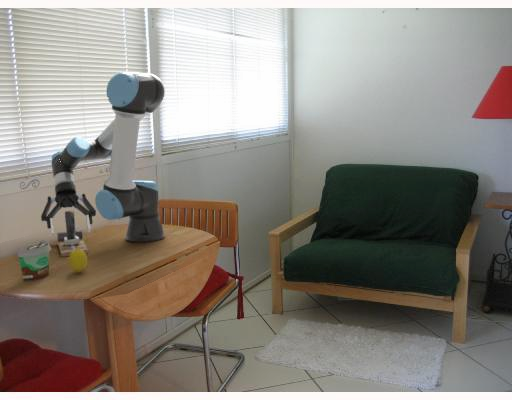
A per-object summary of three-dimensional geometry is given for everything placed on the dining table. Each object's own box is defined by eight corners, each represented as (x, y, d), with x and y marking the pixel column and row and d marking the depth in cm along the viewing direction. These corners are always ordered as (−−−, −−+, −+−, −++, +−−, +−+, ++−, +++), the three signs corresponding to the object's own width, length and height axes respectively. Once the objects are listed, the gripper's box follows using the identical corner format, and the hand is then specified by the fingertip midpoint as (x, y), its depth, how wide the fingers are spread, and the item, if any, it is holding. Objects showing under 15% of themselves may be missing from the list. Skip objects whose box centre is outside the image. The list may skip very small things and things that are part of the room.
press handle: (79, 243, 201) (77, 212, 199) (65, 245, 199) (62, 213, 197) (78, 240, 206) (75, 210, 204) (64, 242, 204) (61, 211, 202)
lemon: (70, 276, 170) (68, 251, 168) (69, 271, 175) (67, 247, 173) (89, 273, 172) (87, 249, 170) (87, 269, 177) (85, 245, 175)
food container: (38, 283, 164) (35, 251, 162) (20, 282, 165) (17, 250, 163) (60, 270, 176) (58, 240, 174) (43, 269, 177) (40, 240, 175)
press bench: (88, 253, 195) (87, 241, 194) (61, 256, 192) (60, 244, 191) (82, 241, 213) (81, 230, 212) (58, 244, 210) (57, 232, 209)
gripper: (97, 189, 218) (104, 234, 207) (31, 195, 209) (36, 242, 198) (97, 178, 212) (105, 223, 201) (30, 183, 203) (35, 231, 192)
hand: (71, 233), depth 199 cm, fingers open, 12 cm apart
